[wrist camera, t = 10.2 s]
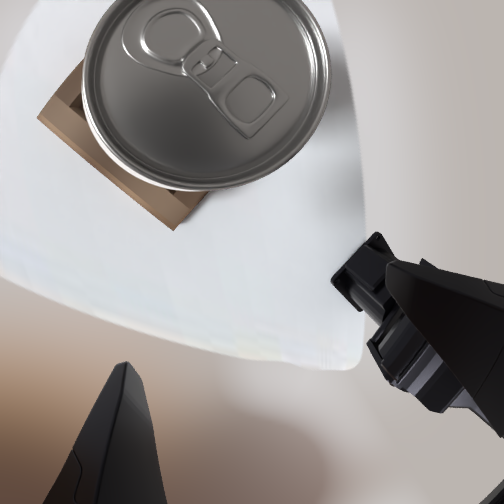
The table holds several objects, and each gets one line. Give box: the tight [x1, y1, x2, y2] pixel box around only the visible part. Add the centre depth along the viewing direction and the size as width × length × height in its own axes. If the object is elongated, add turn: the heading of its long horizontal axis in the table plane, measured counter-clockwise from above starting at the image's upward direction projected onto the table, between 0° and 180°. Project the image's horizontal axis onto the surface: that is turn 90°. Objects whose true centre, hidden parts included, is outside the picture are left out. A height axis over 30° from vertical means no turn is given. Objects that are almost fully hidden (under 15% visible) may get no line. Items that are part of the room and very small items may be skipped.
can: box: [82, 0, 331, 191], centre depth 10 cm, size 6×6×12 cm
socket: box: [37, 59, 209, 231], centre depth 14 cm, size 12×12×4 cm
